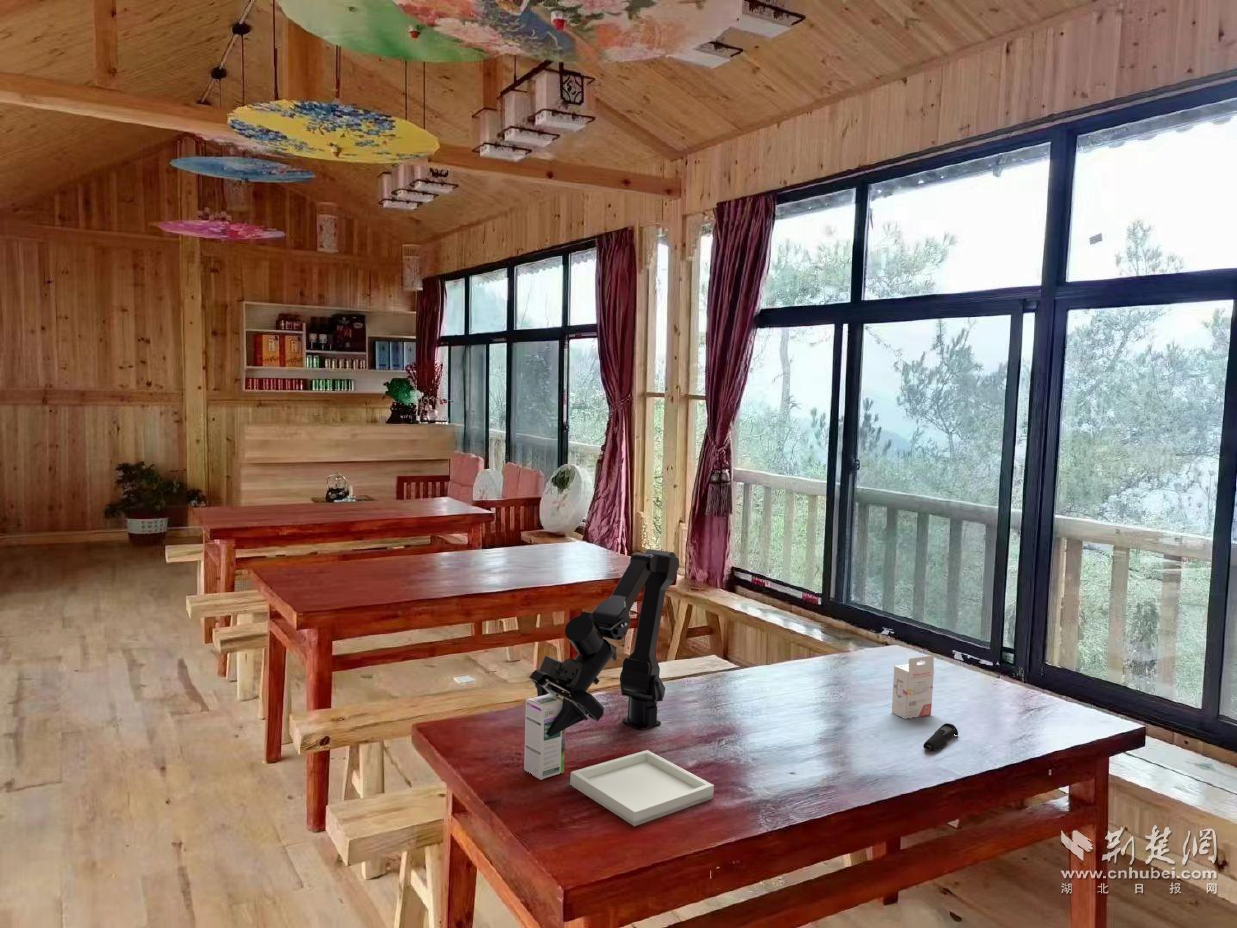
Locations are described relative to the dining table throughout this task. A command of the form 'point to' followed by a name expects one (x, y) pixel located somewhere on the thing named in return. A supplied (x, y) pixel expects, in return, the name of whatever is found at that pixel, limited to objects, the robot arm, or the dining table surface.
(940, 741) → the electric trimmer
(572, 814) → the dining table surface
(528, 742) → the syrup box
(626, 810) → the tray
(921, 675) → the ink cartridge box
